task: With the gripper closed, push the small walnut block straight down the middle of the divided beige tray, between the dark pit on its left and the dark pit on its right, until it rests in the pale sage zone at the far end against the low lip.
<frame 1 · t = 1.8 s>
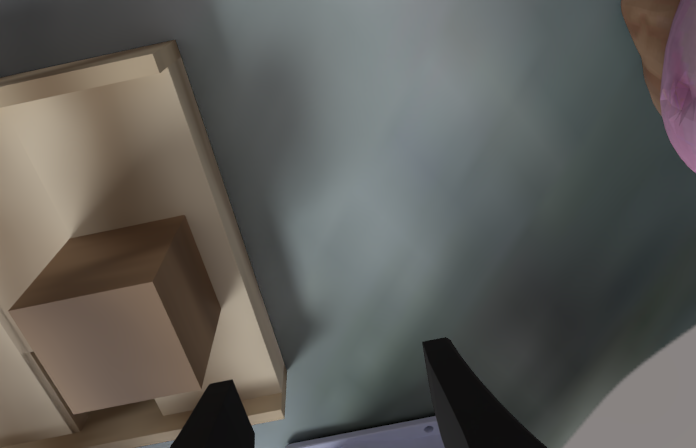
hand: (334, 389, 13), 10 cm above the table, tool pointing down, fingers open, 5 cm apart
walnut block: (149, 275, 20), point 2 cm above the table, touching divided beige tray
divided beige tray: (28, 277, 22), on the table
cupcake: (678, 20, 19), on the table
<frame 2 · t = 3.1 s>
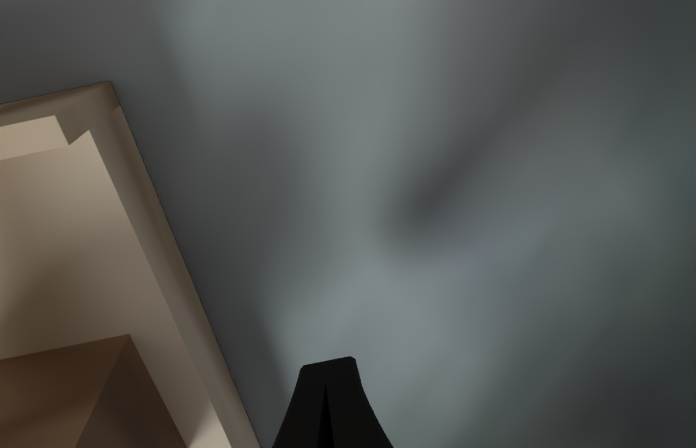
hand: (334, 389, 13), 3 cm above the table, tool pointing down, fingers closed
walnut block: (82, 411, 14), point 2 cm above the table, touching divided beige tray
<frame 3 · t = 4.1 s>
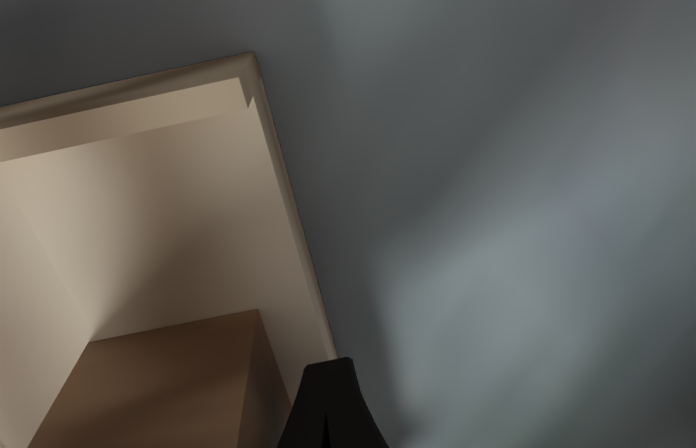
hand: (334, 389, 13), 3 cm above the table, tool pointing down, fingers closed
walnut block: (201, 388, 14), point 2 cm above the table, touching gripper
divided beige tray: (33, 377, 16), on the table
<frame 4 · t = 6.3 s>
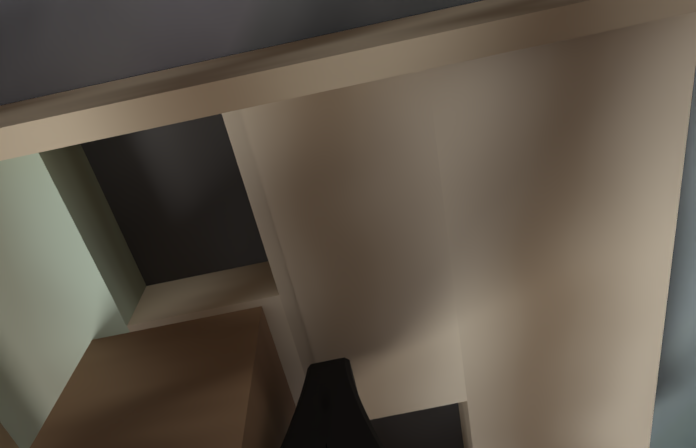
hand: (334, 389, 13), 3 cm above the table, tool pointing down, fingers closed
walnut block: (204, 386, 14), point 2 cm above the table, touching divided beige tray, gripper
divided beige tray: (322, 318, 16), on the table
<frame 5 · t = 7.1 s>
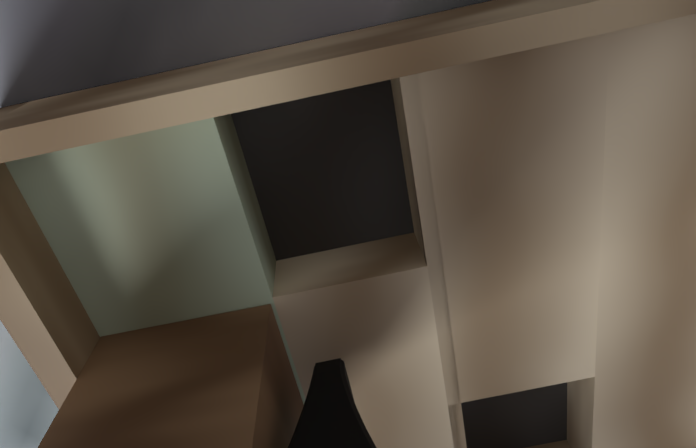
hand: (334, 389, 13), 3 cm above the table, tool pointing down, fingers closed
walnut block: (212, 383, 14), point 2 cm above the table, touching divided beige tray, gripper
divided beige tray: (442, 294, 16), on the table
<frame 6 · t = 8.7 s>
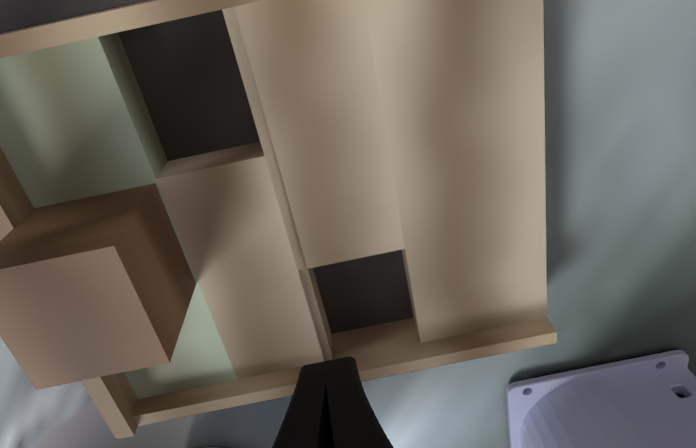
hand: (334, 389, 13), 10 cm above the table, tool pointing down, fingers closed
walnut block: (119, 248, 20), point 2 cm above the table, touching divided beige tray
divided beige tray: (298, 192, 21), on the table
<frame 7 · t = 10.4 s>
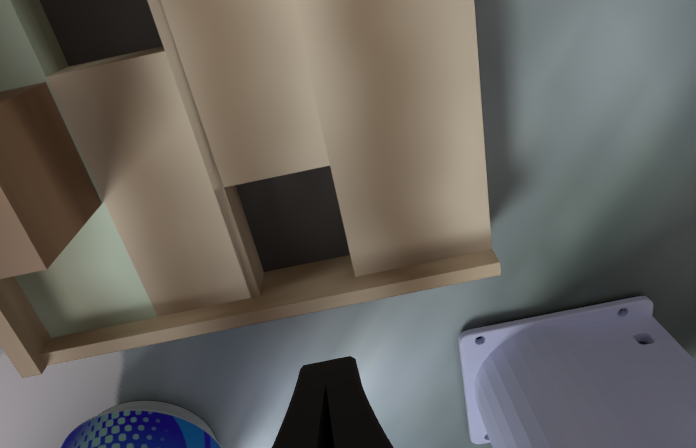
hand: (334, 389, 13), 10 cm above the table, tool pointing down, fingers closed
walnut block: (13, 159, 18), point 2 cm above the table, touching divided beige tray
divided beige tray: (216, 106, 19), on the table
beer can: (153, 443, 28), on the table
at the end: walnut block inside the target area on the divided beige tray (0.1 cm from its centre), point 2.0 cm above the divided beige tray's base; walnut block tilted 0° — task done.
